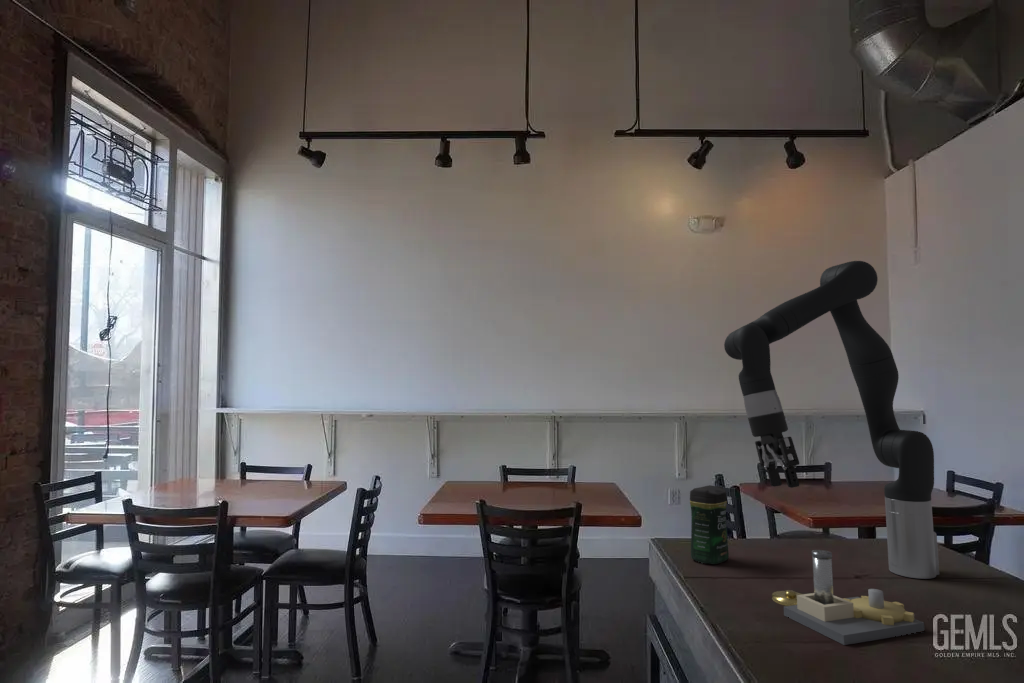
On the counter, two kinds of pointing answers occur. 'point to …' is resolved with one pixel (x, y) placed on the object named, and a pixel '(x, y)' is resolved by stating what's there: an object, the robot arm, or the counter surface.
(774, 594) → the brass knob disc
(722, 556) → the coffee jar
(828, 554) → the grey cylinder peg
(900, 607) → the gear board
